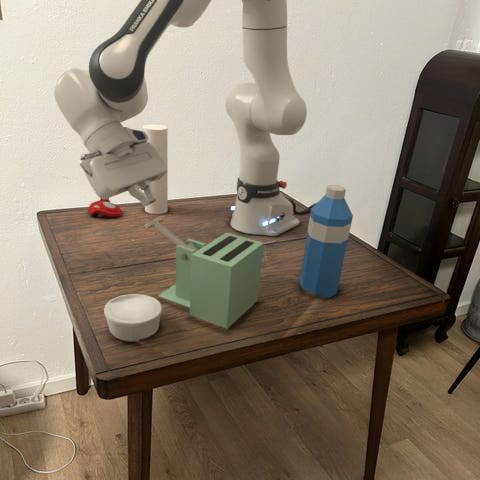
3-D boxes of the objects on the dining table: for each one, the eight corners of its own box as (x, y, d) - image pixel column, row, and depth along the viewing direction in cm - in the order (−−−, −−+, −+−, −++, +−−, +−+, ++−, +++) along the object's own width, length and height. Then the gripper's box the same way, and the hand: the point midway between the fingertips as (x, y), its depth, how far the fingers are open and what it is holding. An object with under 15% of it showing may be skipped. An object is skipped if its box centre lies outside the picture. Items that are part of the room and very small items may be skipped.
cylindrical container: (163, 215, 153) (162, 131, 139) (141, 212, 154) (138, 127, 140) (170, 207, 159) (170, 126, 145) (149, 204, 160) (147, 123, 146)
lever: (142, 229, 105) (146, 220, 103) (157, 221, 109) (161, 213, 108) (187, 265, 104) (191, 256, 102) (200, 256, 108) (204, 248, 106)
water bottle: (312, 301, 115) (331, 196, 101) (291, 283, 121) (306, 182, 108) (344, 294, 118) (367, 192, 105) (322, 277, 125) (340, 179, 112)
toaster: (188, 319, 104) (190, 253, 96) (222, 292, 115) (226, 231, 107) (226, 333, 101) (231, 266, 93) (257, 304, 112) (264, 242, 104)
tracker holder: (128, 211, 150) (99, 210, 142) (124, 224, 152) (95, 223, 145) (108, 191, 155) (79, 189, 148) (104, 204, 158) (76, 202, 150)
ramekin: (143, 309, 106) (142, 288, 103) (173, 333, 99) (173, 311, 96) (95, 325, 99) (93, 303, 97) (123, 352, 93) (122, 329, 90)
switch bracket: (158, 300, 110) (157, 245, 103) (180, 284, 117) (181, 231, 109) (199, 315, 106) (202, 259, 99) (221, 298, 113) (224, 244, 105)
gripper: (82, 147, 93) (126, 209, 94) (149, 130, 108) (186, 184, 110) (67, 166, 97) (110, 225, 98) (134, 147, 112) (169, 199, 114)
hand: (150, 203), depth 104 cm, fingers closed
